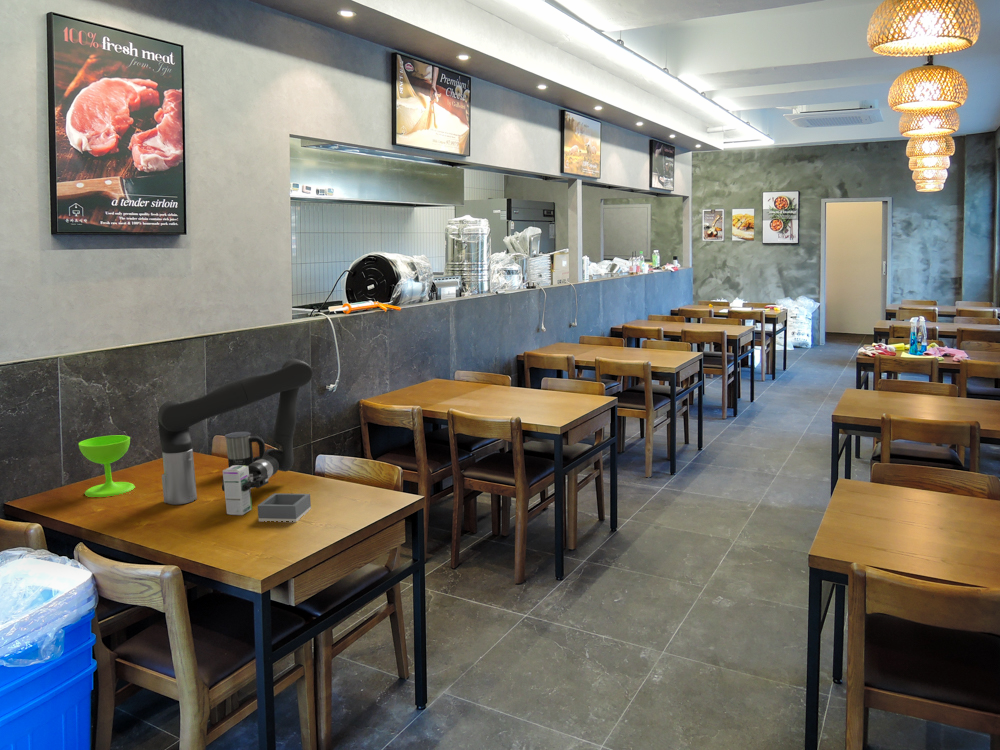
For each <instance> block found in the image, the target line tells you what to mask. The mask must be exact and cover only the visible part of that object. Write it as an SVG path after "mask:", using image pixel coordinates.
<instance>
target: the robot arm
mask: <svg viewBox="0 0 1000 750" xmlns="http://www.w3.org/2000/svg"><path fill="white" fill-rule="evenodd" d="M313 374H314V373H313V369H312V367H311V365H310V364H308V363H307V362H305V361H303V360H301V359H297V358H290V359H287V360H286V361H285V362H284V363H283V365H282V366H281V369H278V370H275V371H273V372H270V373H267V374H266V373H265V374H260V375H259V374H258V375H252V376H246V377H242V378H240V379H236V380H233V381H231V382H228V383H225V384H222V385H220V386H219V387H217V388H215V389H214V390H212V391H210V392H208V393H207V394H205V395H203V396H201V397H198V398H195V399H191V400H189V401H184V402H180V401H177V400H169V401H166V402H164V403H163V404H161V406H160V407H159V408H158V411H157V425H158V434H159V441H160V446H161V452H162V453H161V454H162V461H163V462H162V463H163V465H162V466H163V474H161V484H162V485H161V486H162V490H163V491H162V493H163V502H164V503H165V504H168V505H175V506H176V505H183V504H189V503H193V502H195V501H196V500H197V499H198V495H197V494H198V493H197V483H196V482H197V481H196V474H195V471H196V470H195V463H194V462H195V461H194V450H193V441H192V438H191V433H190V427H192V426H193V425H197V424H198V423H201V422H202V421H205V420H208V419H209V418H214V417H216V416H219V415H222V414H226V413H228V412H232V411H235V410H238V409H241V408H243V407H247V406H249V405H251V404H254V403H256V402H259V401H262V400H265V399H267V398H269V397H271V396H273V395H276V394H279V400H278V407H277V412H276V416H275V417H276V418H275V422H274V427H273V432H272V437H271V438H272V441H273V442H274V443H276V444H278V445H280V446H281V448H282V449H277V448H267V449H265V453H264V455H263V457H262V458H261V459H259V460H257V461H255V462H253V463H251V464H250V465H248V468H249V479H250V480H249V482H246V483H245V484H243V491H247V490H249V489H254V488H255V489H259V488H260V489H261V488H262V487H264V486H265V485H267V484H269V479H270V478H271V477H272V476H274V475H275V474H277V472H278V471H280V472H288V471H290V470H291V469H292V467H293V465H294V461H295V459H294V458H295V457H294V446H293V445H294V444H293V442H294V436H295V435H294V434H295V431H296V423H297V404H298V403H297V401H298V393H299V391H300V388H301V387H304V386H306V385H307V384H308V383H310V381H311V380H312V378H313ZM221 482H222V483H221V490H222V491H223V492H225V490H224V480H223V479H222V481H221ZM194 500H195V501H194Z"/></svg>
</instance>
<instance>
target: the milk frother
mask: <svg viewBox="0 0 1000 750" xmlns="http://www.w3.org/2000/svg"><path fill="white" fill-rule="evenodd" d="M251 434H252V433H251V432H250V431H235V432H231V433H230V432H229V433H228V434H227V433H226V434H225V435H224V438H225V442H226V453H227V462H228V468H229V467H231V466H233V465H245V466H248V465H250V464H251V463H253V462H255V461H257V460H259V459H261V458H262V457H263V455H264V453H265V451H266V443H265V441H264V439H263V438H262V437H261V436H258V435H253V436H252V435H251ZM253 443H257V445H258V454H259V455H257V456H254V452H253Z"/></svg>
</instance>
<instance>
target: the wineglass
mask: <svg viewBox="0 0 1000 750" xmlns="http://www.w3.org/2000/svg"><path fill="white" fill-rule="evenodd" d="M130 444H131V437H130V436H128V435H122V434H121V435H120V434H119V435H117V434H114V435H103V436H96V437H92V438H91V437H90V438H87V439H84V440H81V441H79V442H78V448H79V451H80V452H81V454H82V456H83V457H85V458H86V459H87V460H88V461H90V462H93V463H95V464H100V465H103V466H104V475H105V482H104V483H102V484H97V485H94V486H92V487H89V488H88V489H86V490H85V491H84V494H85V495H86V496H88V497H107V496H114V495H119V494H122V495H124V494H123V493H126V492H129V491H131V490H133V489H134V488H135V489H136V486H135V484H134V483H131V482H128V481H113V478H112V467H111V464H112V463H114V462H117V461H119V460H120V459H121V458H123V457H124V456H125V455H126V453H127V452H128V450H129V447H130ZM135 489H134V490H135ZM134 490H133V491H134ZM131 492H132V491H131ZM129 493H130V492H129ZM126 494H127V493H126ZM119 496H120V495H119ZM88 497H87V498H88ZM114 497H115V496H114ZM107 498H108V497H107Z"/></svg>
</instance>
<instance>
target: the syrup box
mask: <svg viewBox="0 0 1000 750" xmlns="http://www.w3.org/2000/svg"><path fill="white" fill-rule="evenodd" d="M222 477H223V478H222V480H224V490H225V491H224V497H225V506H226V507H225V508H226V514H227V515H232V516H243V515H245V514H247V513H248V512H250V511H252V510H253V502H252V492H251V488H250V489H249V490H247V491H243V484H245V483H246V482H249V480H250V479H249V468H248V466H245V465H233V466H231V467H229V466H228V468H227V467H226V468H225V469H223V470H222Z"/></svg>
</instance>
